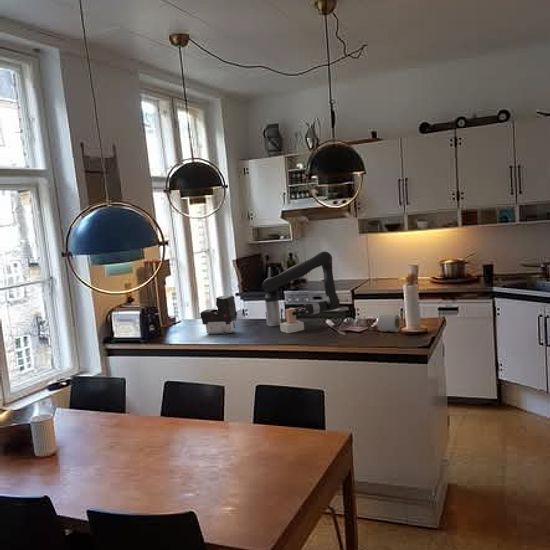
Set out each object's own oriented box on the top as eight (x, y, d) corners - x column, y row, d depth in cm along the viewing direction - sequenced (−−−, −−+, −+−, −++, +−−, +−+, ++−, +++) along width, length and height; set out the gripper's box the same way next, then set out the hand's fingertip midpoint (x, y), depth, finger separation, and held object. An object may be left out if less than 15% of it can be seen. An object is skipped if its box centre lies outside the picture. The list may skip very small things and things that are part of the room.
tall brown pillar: (290, 331, 354) (288, 310, 353) (287, 330, 358) (285, 309, 356) (297, 330, 356) (295, 308, 355) (294, 329, 360) (292, 308, 359)
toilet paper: (401, 329, 331) (400, 313, 330) (394, 333, 323) (393, 316, 322) (385, 329, 337) (384, 313, 336) (378, 332, 329) (377, 316, 328)
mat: (296, 334, 347) (296, 334, 347) (308, 330, 356) (308, 329, 356) (307, 336, 341) (306, 335, 341) (319, 331, 349) (319, 330, 349)
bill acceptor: (209, 332, 386) (205, 296, 383) (239, 331, 378) (235, 295, 375) (202, 335, 376) (198, 299, 373) (233, 334, 368) (228, 297, 365)
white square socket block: (287, 334, 350) (286, 324, 350) (280, 332, 359) (279, 322, 359) (304, 331, 355) (303, 321, 355) (297, 329, 364) (296, 319, 364)
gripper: (305, 302, 369) (283, 306, 362) (316, 304, 356) (294, 308, 349) (306, 313, 369) (285, 317, 362) (317, 315, 357) (295, 320, 350)
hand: (289, 313), depth 356 cm, fingers open, 8 cm apart
